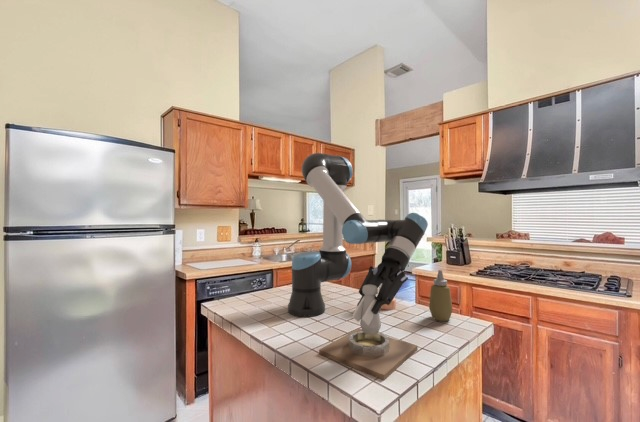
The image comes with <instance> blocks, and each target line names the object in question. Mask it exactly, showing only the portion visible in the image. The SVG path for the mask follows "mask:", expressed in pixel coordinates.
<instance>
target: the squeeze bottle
mask: <svg viewBox="0 0 640 422" xmlns="http://www.w3.org/2000/svg"><path fill="white" fill-rule="evenodd" d="M430 287H431V288H430V296H429V304H428V305H429V306H428V308H429V312H430V314H431V317H432V319H433V320H436V321H439V322H447V321H450V319H451V315H452V314H453V304H452V294H451V288H450V286H449V285H448V280H447V279H445V276H444V273H443V269H439V270H438V272H437V276H436V278H434V279H433V284H432V285H431V286H430Z"/></svg>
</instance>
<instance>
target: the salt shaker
mask: <svg viewBox="0 0 640 422" xmlns="http://www.w3.org/2000/svg"><path fill="white" fill-rule="evenodd" d="M362 292H363V294H365V295H364V302H363V308H362V314H361V319H360V321H359V325H360V327H361V328H360V329H362V330H363V332H364V333H366V334H369V335H375V334H377V333H380V329H381V326H382V322H381V321H382V320H381V317H380V310H379V311H378V313H377V314H373V319H372V321H371V322H370V324H369V326H368V325H366V324H365V323H364V322H363V321H362V318H363V316H364V314H365V312H366V311H367V309H368V307H369V305H370V304H371V302H372V301H373V299H375V297H377V295H378V293H379V287H378V288H377V286H375V285H364V286H363V289H362ZM375 300H376V299H375ZM376 301H377V300H376Z"/></svg>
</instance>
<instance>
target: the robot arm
mask: <svg viewBox="0 0 640 422" xmlns="http://www.w3.org/2000/svg"><path fill="white" fill-rule="evenodd" d="M353 170H354V169H353V165H352V162H350V161H349V159H348V158H346V157H343V156H341V155H333V154H328V153H327V154H326V153H322V152H316V153H315V152H314V153H312V154H310V155H308V156H307V157H306V158H305V159H304V161H303V163H302V166H301V174H302V177H303V179H304V181H305V183H306V184H307V185H308V186H309V187H312V188H313V189H314V190H315V191H316V192H317V194H318V196H320V198H321V199H322V200H323V211H322V212H323V213H322V214H323V216H322V219H323V221H322V246H320V248H318V249H319V251H317V250H316V251H315V250H314V251H313V250H311V251H303V252H299V253H297V254H295V255H293V257H292V259H291V287H292V288H291V295H290V297H289V301H288V304H287V313H289V314H290V315H292V316H296V317H314V316H319V315H321V314H324V313H326V304H325V302H324V299H323V295H322V292H321V291H322V289H321V287H322V286H321V285H322V283H326V282H330V281H331V282H332V281H340V280H342V279H344V278H346V277H347V276H348V275H349V274H350V272H351V270H352V259H351V256H350V255H349V254H348V253H347V248H345V246H344V245H343V242H344V241H345V242H346V243H347V244H350V245H362V244H369V243H384V242H390V243H389V244H388V246H387V248H386V250H385V252H384V253H383V255H382V257H381V262H380V263H379V264H378V265H377V266H375V267H373V266H372V265H371V266H369V268H368V273H367V274H366V277H365V278H364V281H363V282H362V283H361V286H360V288H359V289H358V294H359V295H361V297H360V299H359V301H358V303H357V304H356V306H357V307H356V308H355V310H354V312H352V313H353V314H352V315H351V316H352V317H353V319H355V321H356V322H359V323H360V321H361V314H362V308H363V302H364V295H365V294H363V292H362V289H363V286H364V285H375V286H377V288H378V293H377V294H376V297H375V299H376V300H377V301H376V300H375V299H373V301H372V302H371V304H370V305H369V307H368V309H367V311H366V312H365V314H364V316H363V318H362V321H363V322H364V323H365V324H366V325H368V326H369V324H370V322H371V321H372V319H373V314H377V313H378V311H379V312H380V309H381V306H382V305H384V304H387V305H389V304H390V303H391V301H392V300H393V298H394V297H396V296H397V294H398V293H399V291H400V289H401V287H402V286H403V284H405V282H406V281H408V280H409V277H408V276H407V274H406V273H405V272H404V271H405V269H407V267H408V265H409V261H410V260H411V258H412V257H413V255H414V252H415V251H416V249H417V247H418V246H419V243H420V241H421V240H422V238H423V237H424V235H426V234H425V233H426V231H427V229H428V226H429V223H428V221H427V219H426V218H425V217H424V215H422V214H420V213H417V212H410V213H408V214H407V215H406V216H405V217H404V219H395V220H394V219H376V220H374V219H371V220H370V219H366V217H365V216H364V215H363V214H362V213H361V212H360V211H359V210H358V208H357V207H356V206H355V204H353V202H352V201H351V200H350V198H349V197H348V196H347V195H346V194H345V193H344V191H345V189H346V188H347V186H348V183H349V182H350V181H351V179H352V178H353V172H354V171H353ZM343 240H344V241H343ZM381 283H382V286H381V288H380V290H379V286H380V284H381Z"/></svg>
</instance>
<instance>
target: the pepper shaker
mask: <svg viewBox="0 0 640 422" xmlns="http://www.w3.org/2000/svg"><path fill="white" fill-rule="evenodd" d="M381 286H382V283H381V284H380V286H379V287H378V291H379V290H380V288H381ZM395 297H396V296H395ZM395 297H394V298H393V300H392V301H391V303H390V304H389V305H387V304H384V305H382V306H381V308H380V309H382V310H388V311H389V310H390V311H391V310H392V311H393V310H395V309H396V307H397V301H396V300H397V299H396V298H395Z"/></svg>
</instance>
